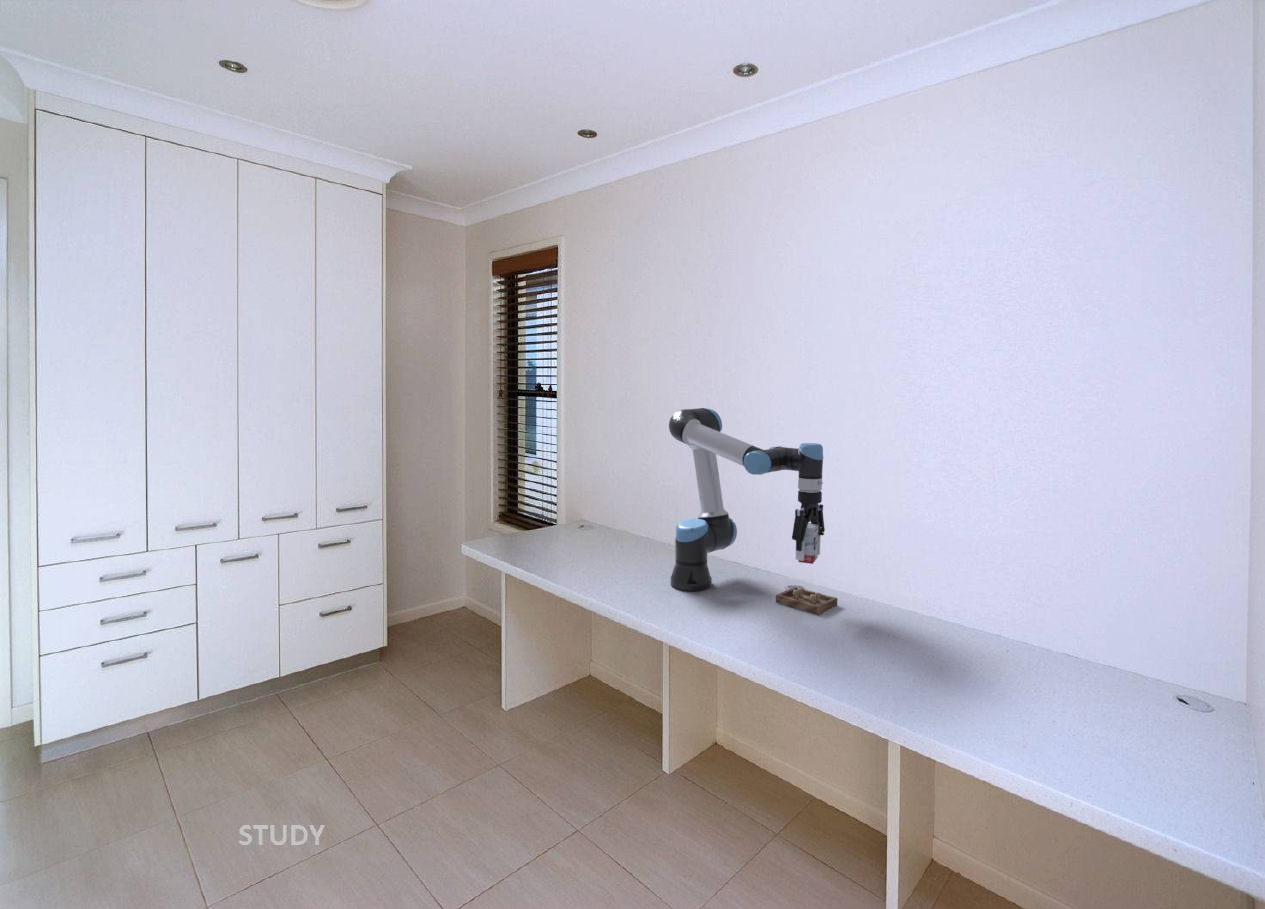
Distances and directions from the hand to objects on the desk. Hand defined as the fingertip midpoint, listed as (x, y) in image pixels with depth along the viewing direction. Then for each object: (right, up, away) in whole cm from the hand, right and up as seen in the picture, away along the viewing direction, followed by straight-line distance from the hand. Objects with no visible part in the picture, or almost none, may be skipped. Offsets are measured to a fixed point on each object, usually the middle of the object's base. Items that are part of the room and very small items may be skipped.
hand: (807, 556), depth 206 cm
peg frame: (0, -16, +2) cm, 16 cm away
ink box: (0, -1, 0) cm, 1 cm away
